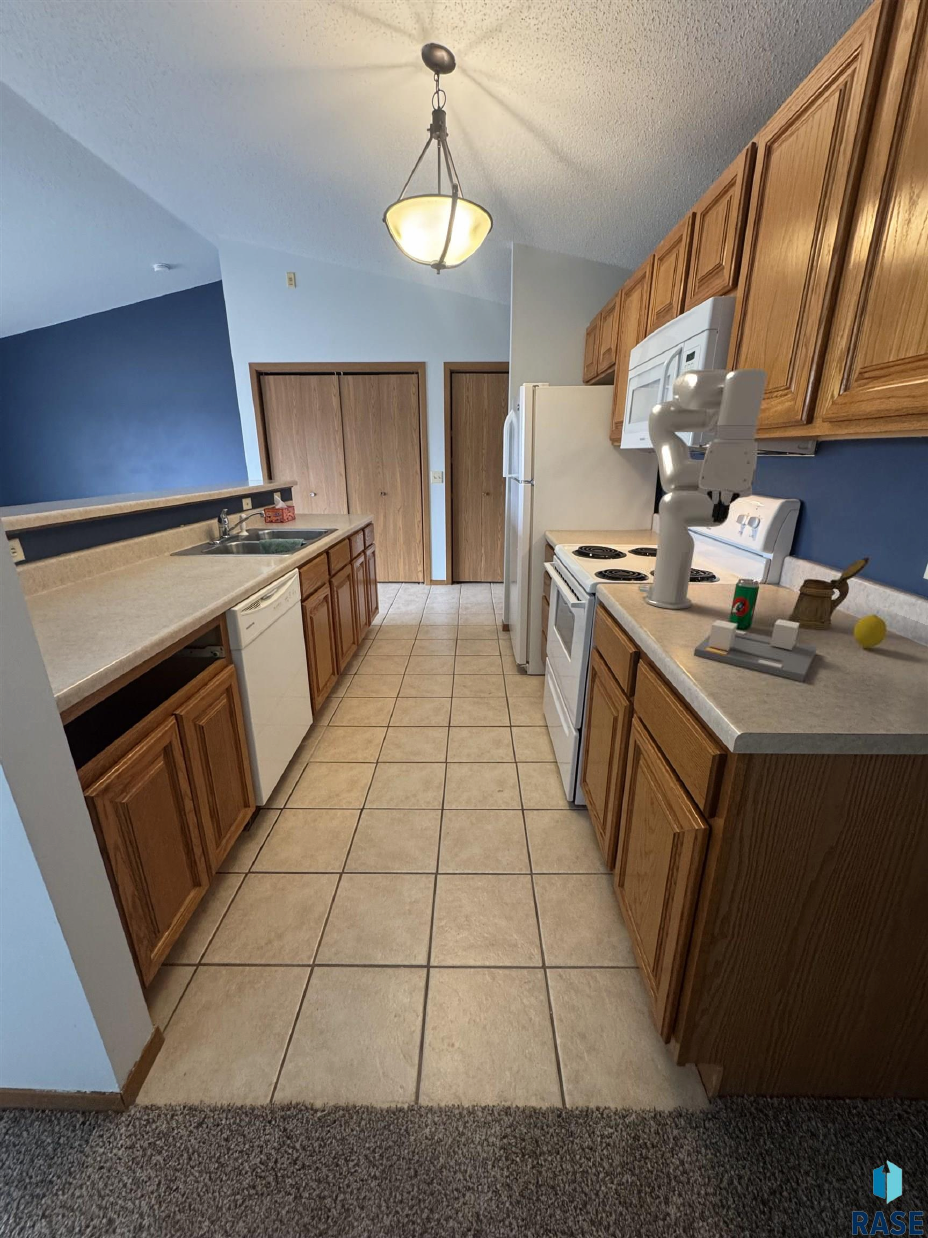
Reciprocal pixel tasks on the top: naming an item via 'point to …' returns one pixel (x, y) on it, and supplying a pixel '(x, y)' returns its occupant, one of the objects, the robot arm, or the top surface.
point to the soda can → (744, 603)
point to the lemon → (870, 631)
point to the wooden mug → (823, 598)
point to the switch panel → (762, 655)
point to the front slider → (722, 635)
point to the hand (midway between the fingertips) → (718, 521)
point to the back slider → (784, 634)
